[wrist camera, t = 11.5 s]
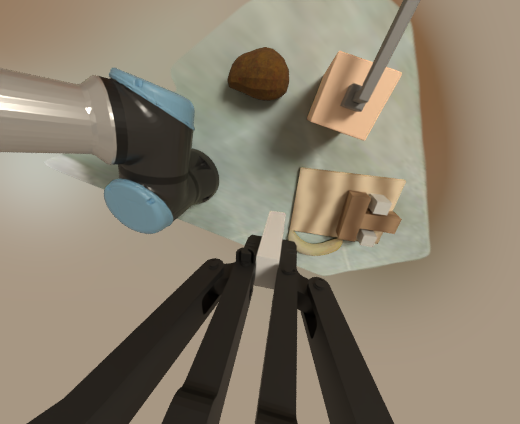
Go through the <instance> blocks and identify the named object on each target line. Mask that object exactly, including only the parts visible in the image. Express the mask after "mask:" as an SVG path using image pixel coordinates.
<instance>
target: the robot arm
mask: <svg viewBox="0 0 520 424" xmlns="http://www.w3.org/2000/svg"><path fill="white" fill-rule="evenodd" d="M109 77H111V79H108V78H104V77H100V76H96V75H92V76H90V77H89V78H88V79H86V80H85V81H84V82H82V83H81V84H73V83H68V82H64V81H59V80H54V79H50V78H45V77H40V76H36V75H31V74H26V73H21V72H17V71H12V70H7V69H3V68H0V152H26V153H76V154H93V155H95V156H97V157H98V158H100V159H101V160H103V161H104V162H105V163H107V164H110V165H112V164H118V167H119V179H115V180H112V181H111V182H110V184H109V185H107V186H106V188H105V190H104V199H105V202H106V205H107V206H108V208H109V210H110V211H111V213H112V214H113V215H114V216H115V217H116V218H117V219H118V220H119V221H120V222H121V223H122V224H124V225H125V226H127V227H128V228H130V229H132V230H135V231H137V232H140V233H145V234H153V233H156V232H159V231H161V230H163V229H164V228H165V227H167V226H170V225H171V224H172V222H173V221H174V220H175V219H177V218H178V217H179V216H180V215H181V214H182V213H184V212H185V211H186V210H187V209H188V208H189V207H191V206H192V205H194V204H199V203H203V202H205V201H207V200H209V199H210V198H211V197H212V196H213V195H214V194H215V193H216V191H217V189H218V186H219V175H218V171H217V168H216V166H215V165H214V163H213V162H212V160H211V159H210V158H209V157H208V156H207V155H205V154H204V153H203V152H201V151H199V150H196V149H191V147H192V138H193V130H195V128H194V106H193V104H192V103H191V101H190V100H188V99H187V98H185V97H183V96H181V95H179V94H176V93H174V92H172V91H170V90H167V89H165V88H162V87H160V86H158V85H155V84H153V83H151V82H148V81H146V80H144V79H141V78H139V77H136V76H134V75H132V74H129V73H126V72H124V71H121V70H119V69H117V68H112V69H111V72H110V73H109ZM285 215H286V213H282V212H276V211H270V212H269V216H268V219H267V222H266V226H265V229H264V232H263V236H256V235H251V236H250V237H249V238H248V239H247V242H246V244H245V247H244V248H240V249H238V250H237V252H236V262H234V263H230V264H224V263H223V261H221V260H220V259H216V258H215V259H210V260H207V261H206V262H205V263H204V264H203V265H202V266H201V267H200V268H199V269H198V270H197V271H195V272H194V274H192V276H190V277H189V279H187V280H186V281H185V282H184V283H183V284H182V285H181V286H180V287H179V288H178V289H177V290H176V291H175V292H174V293H173V294H172V295H171V296H170V297H168V298H167V299H166V300H165V301H164V302H163V303H162V304H161V305H160V306H159V307H158V308H157V309H156V310H155V311H154V312H153V313H152V314H151V315H150V316H149V317H148V318H147V319H146V320H145V321H144V322H143V323H141V324H140V326H138V327H137V328H136V329H135V330H134V331H133V332H132V333H131V334H130V335H129V336H128V337H127V338H126V339H125V340H124V341H123V342H122V343H121V344H120V345H119V346H118V347H117V348H116V349H114V350H113V352H112V353H110V354H109V355H108V356H107V357H106V358H105V359H104V360H103V361H102V362H101V363H100V364H99V365H98V366H97V367H96V368H95V369H94V370H93V371H92V372H91V373H90V374H89V375H88V376H87V377H86V378H84V379H83V380H82V381H81V382H80V383H79V384H78V385H77V386H76V387H75V388H74V389H73V390H72V391H71V392H70V393H69V394H68V395H67V396H66V397H65V398H64V399H62V400H61V401H59V402H58V403H57V404H55V405H54V406H52V407H50V408H49V409H48V410H46V411H45V412H43V413H42V414H40V415H39V416H37V417H36V418H34V419H33V420H32V421H30V422H29V423H27V424H129V423H130V421H131V420H132V419H133V417H134V416H135V415H136V413H137V412H138V410H139V409H140V408H141V406H142V405H143V404H144V402H145V401H146V400H147V398H148V397H149V395H150V394H151V393H152V392H153V390H154V389H155V387H156V386H157V385H158V383H159V382H160V381H161V379H162V378H163V377H164V375H165V374H166V373H167V371H168V370H169V368H170V367H171V366H172V364H173V363H174V362H175V360H176V359H177V358H178V356H179V355H180V353H181V352H182V351H183V349H184V348H185V347H186V345H187V344H188V343H189V341H190V340H191V339H192V337H193V336H194V335H195V333H196V332H197V331H198V329H199V328H200V326H201V325H202V324H203V322H204V321H205V320H206V318H207V317H208V316H209V314H210V313H211V312H212V310H213V309H214V308H215V306H216V305H217V303H218V302H219V303H218V305H217V307H216V310H215V312H214V315H213V317H212V319H211V322H210V324H209V326H208V329H207V331H206V333H205V336H204V338H203V340H202V343H201V345H200V347H199V350H198V352H197V354H196V357H195V359H194V361H193V364H192V366H191V369H190V371H189V373H188V376H187V378H186V380H185V382H184V384H183V386H182V387H181V388H180V389H179V390H178V391H177V392H176V394H175V395H174V397H173V399H172V402H171V403H170V406H169V408H168V410H167V412H166V415H165V417H164V419H163V422H162V424H219V421H220V417H221V413H222V409H223V405H224V401H225V397H226V393H227V390H228V386H229V381H230V378H231V374H232V370H233V366H234V362H235V359H236V355H237V351H238V347H239V343H240V339H241V335H242V331H243V327H244V324H245V319H246V316H247V312H248V308H249V304H250V300H251V296H252V292H253V285H255V286H261V287H265V288H270V289H274V295H273V301H272V308H271V315H270V322H269V330H268V336H267V343H266V350H265V357H264V364H263V371H262V378H261V385H260V391H259V399H258V405H257V412H256V419H255V424H298V423H297V419H296V370H297V368H296V367H297V365H296V364H297V309H298V310H300V311H301V315H302V318H303V322H304V326H305V330H306V333H307V338H308V341H309V345H310V349H311V353H312V356H313V360H314V364H315V367H316V371H317V376H318V379H319V383H320V387H321V391H322V395H323V398H324V402H325V406H326V410H327V413H328V418H329V421H330V424H394V422H393V420H392V418H391V416H390V414H389V412H388V410H387V407H386V405H385V403H384V401H383V399H382V397H381V395H380V393H379V391H378V388H377V386H376V384H375V382H374V380H373V377H372V375H371V373H370V371H369V369H368V367H367V365H366V362H365V360H364V358H363V356H362V354H361V352H360V350H359V348H358V345H357V343H356V341H355V339H354V337H353V335H352V332H351V330H350V328H349V326H348V324H347V322H346V320H345V317H344V315H343V313H342V311H341V309H340V307H339V305H338V303H337V300H336V298H335V296H334V294H333V292H332V290H331V288H330V285H329V284H328V282H326V281H325V280H324V279H322V278H319V277H312V278H311V279H307V278H305V277H303V276H302V275H300V274H299V273H298V271H297V268H296V263H297V245H296V244H295V242H294V241H289V240H283V239H282V238H283V230H284V223H285Z"/></svg>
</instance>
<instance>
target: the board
mask: <svg viewBox="0 0 520 424" xmlns="http://www.w3.org/2000/svg"><path fill="white" fill-rule="evenodd" d="M405 183H406V181H405V180H403V179H394V178H386V177H378V176H369V175H361V174H352V173H344V172H336V171H327V170H319V169H311V168H302V167H301V169H300V174H299V180H298V186H297V191H296V197H295V202H294V208H293V214H292V219H291V225H290V230H294V231H300V232H307V233H313V234H319V235H325V236H331V237H338V236H337V233H336V228H337V225H338V222H339V219H340V215H341V212H342V209H343V206H344V203H345V200H346V197H347V194H348V190H353V191H360V192H366V193H367V194H368V195H370V193H372V194H380V195H384V196H385V197H386V198H387V199H388V200H389V201H390V202H391V203H392V205H391V208H390V210H389V211H393V209H394V207H395V204H396V202H397V200H398V198H399V196H400V194H401V191H402V189H403V187H404V185H405ZM368 208H369V207H368ZM374 233H375V234H376V236H377V239H376V241H375V244H378V242H379V240H380V237H381V235H382V233H383V232H380V231H374ZM355 240H356V241H358V239H357V237H356V239H355Z"/></svg>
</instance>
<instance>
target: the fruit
mask: <svg viewBox="0 0 520 424" xmlns="http://www.w3.org/2000/svg"><path fill="white" fill-rule="evenodd" d="M288 240H289V241H294V242H295V244H296V245H297V251H298V252H300V253H303V254H306V255H311V256H320V255H326V254H329V253H332V252H334V251H337V250H338V249H339V248H340V247H341V245H342V243H343V240H342V239H338V238H337V239H332V240H329V241H326V242H323V243H318V244H311V243H307V242H305V241H303V240H301V239H300V238H299V237H298V236H297V234H296V233H295V232H294V230H290V229H289V234H288Z"/></svg>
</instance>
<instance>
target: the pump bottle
mask: <svg viewBox="0 0 520 424" xmlns="http://www.w3.org/2000/svg"><path fill="white" fill-rule="evenodd" d="M419 2H420V0H403V2H402V4H401V6H400V8H399V10H398V12H397V14H396V16H395V19H394V21H393V23H392V25H391V27H390V29H389V31H388V33H387V35H386V37H385V39H384V41H383V43H382V45H381V47H380V50H379V52H378V54H377V56H376V58H375V60H374V62H371V61H368V60H365V59H362V58H359V57H356V56H353V55H351V54H348V53H345V52H342V51H339V52H338V53H337V55H336V56H335V58H334V59H333V61H332V63H331V64H330V66H329V67H328V69H327V71H326V72H325V74H324V75H323V78H322V81H321V83H320V86H319V88H318V91H317V93H316V96H315V99H314V101H313V104H312V106H311V109H310V111H309V114H308V117H307V120H309V121H311V122H313V123H316V124H319V125H321V126H324V127H327V128H330V129H333V130H335V131H338V132H341V133H344V134H347V135H349V136H352V137H355V138H358V139H361V140H365V139H366V138H367V136H368V134H369V132H370V131H371V129H372V127H373V125H374V123H375V122H376V120H377V118H378V116H379V114H380V113H381V111H382V109H383V107H384V105H385V104H386V102H387V100H388V98H389V97H390V95H391V93H392V91H393V89H394V88H395V86H396V84H397V82H398V80H399V79H400V77H401V75H402V73H401V72H399V71H396V70H393V69H391V68H388V67H386V66H387V64H388V62H389V60H390V58H391V56H392V54H393V52H394V50H395V49H396V47H397V45H398V43H399V41H400V39H401V37H402V35H403V33H404V31H405V29H406V27H407V25H408V23H409V21H410V19H411V17H412V15H413V14H414V12H415V10H416V8H417V6H418V4H419Z"/></svg>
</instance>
